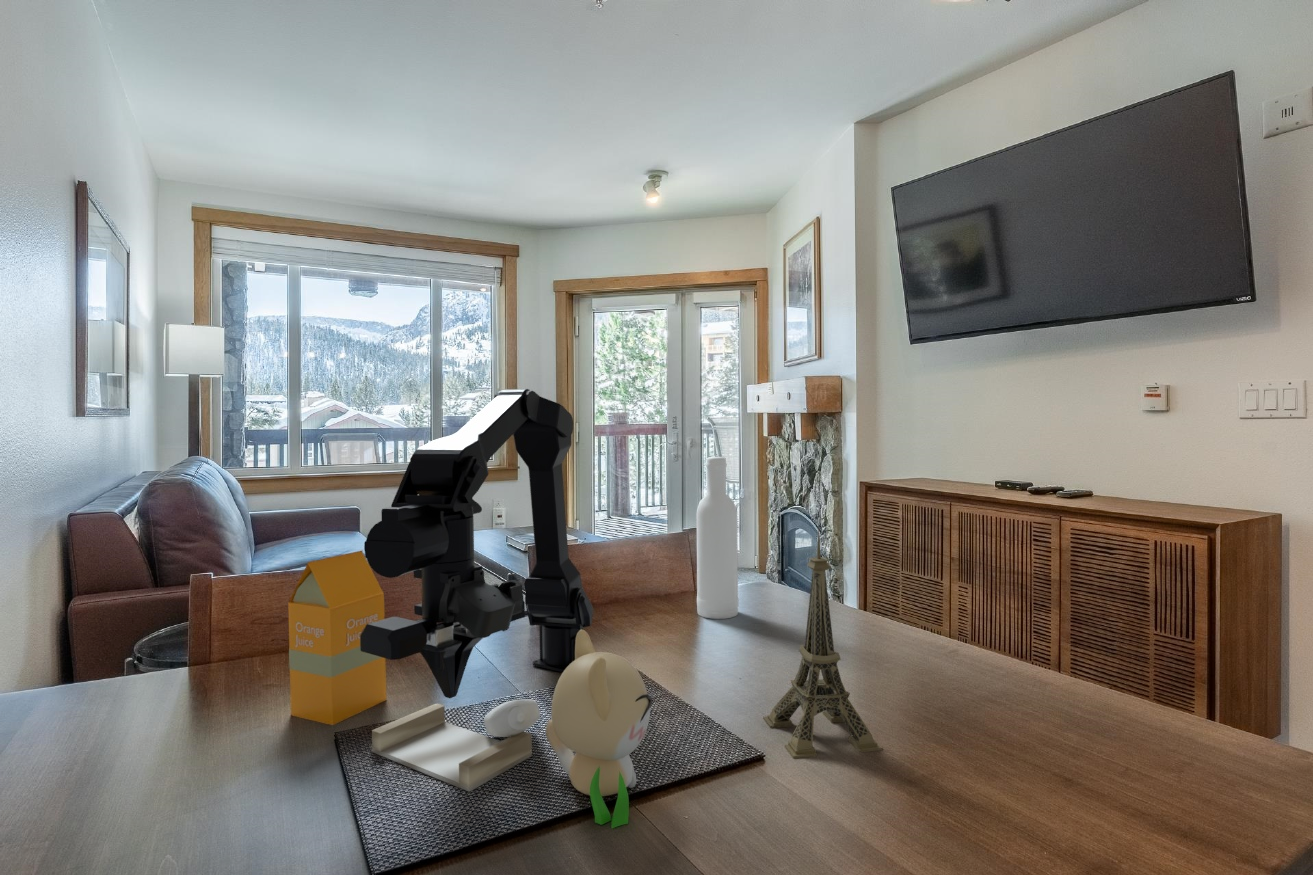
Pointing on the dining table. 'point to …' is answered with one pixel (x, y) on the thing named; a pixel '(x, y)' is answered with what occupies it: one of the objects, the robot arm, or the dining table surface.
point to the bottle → (717, 547)
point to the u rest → (448, 748)
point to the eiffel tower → (817, 691)
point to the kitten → (599, 726)
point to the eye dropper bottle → (512, 717)
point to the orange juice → (334, 640)
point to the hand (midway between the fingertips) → (450, 696)
